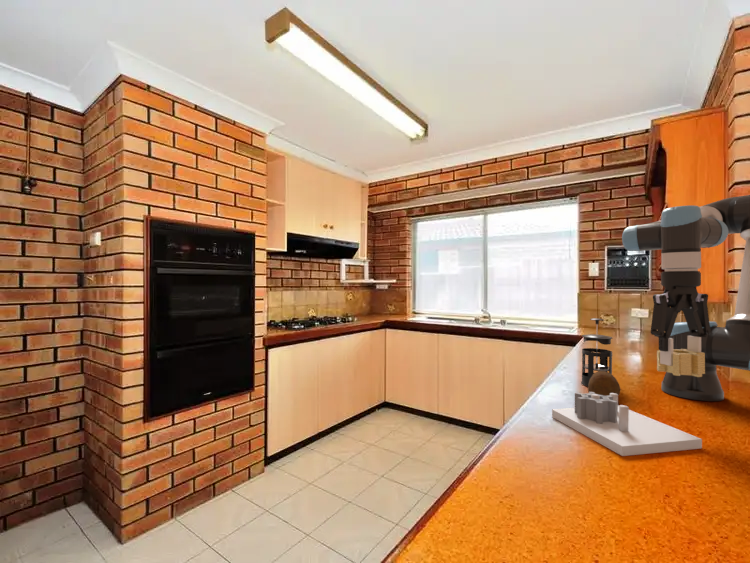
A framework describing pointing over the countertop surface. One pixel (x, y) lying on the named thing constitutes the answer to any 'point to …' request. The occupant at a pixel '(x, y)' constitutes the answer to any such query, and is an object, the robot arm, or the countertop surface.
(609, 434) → the gear board
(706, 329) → the robot arm
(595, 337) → the french press
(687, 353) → the brass gear
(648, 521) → the countertop surface
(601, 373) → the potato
